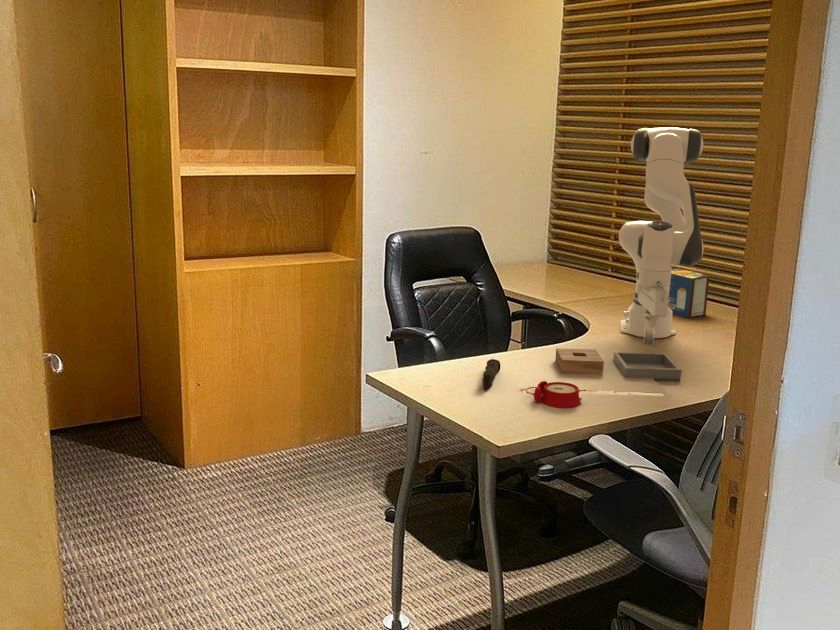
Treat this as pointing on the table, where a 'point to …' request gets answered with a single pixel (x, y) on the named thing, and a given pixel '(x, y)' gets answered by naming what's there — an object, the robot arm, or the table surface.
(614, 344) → the table surface
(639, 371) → the tray
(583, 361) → the block
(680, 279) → the protein box
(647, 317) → the pin
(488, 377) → the hand tool
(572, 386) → the alarm clock
